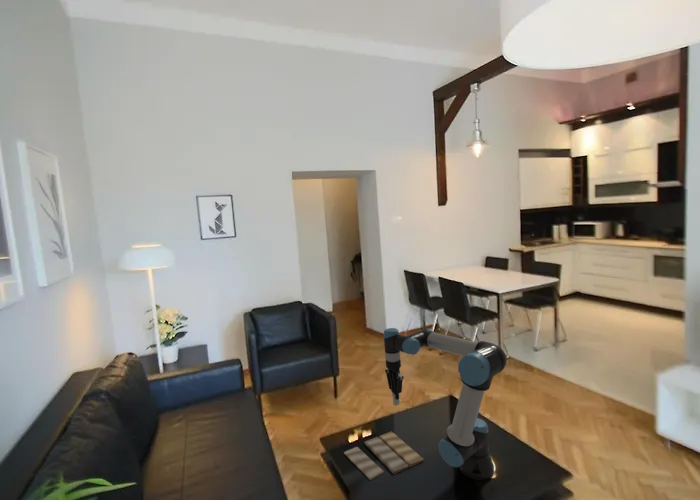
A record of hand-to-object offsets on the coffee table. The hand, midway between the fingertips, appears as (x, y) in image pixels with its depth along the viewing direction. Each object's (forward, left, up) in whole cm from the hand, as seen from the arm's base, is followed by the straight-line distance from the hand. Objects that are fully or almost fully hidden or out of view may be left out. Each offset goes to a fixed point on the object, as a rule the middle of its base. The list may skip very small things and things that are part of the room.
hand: (396, 404), depth 189 cm
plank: (0, +21, -24) cm, 32 cm away
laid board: (-1, 0, -23) cm, 23 cm away
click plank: (-1, +9, -23) cm, 25 cm away
